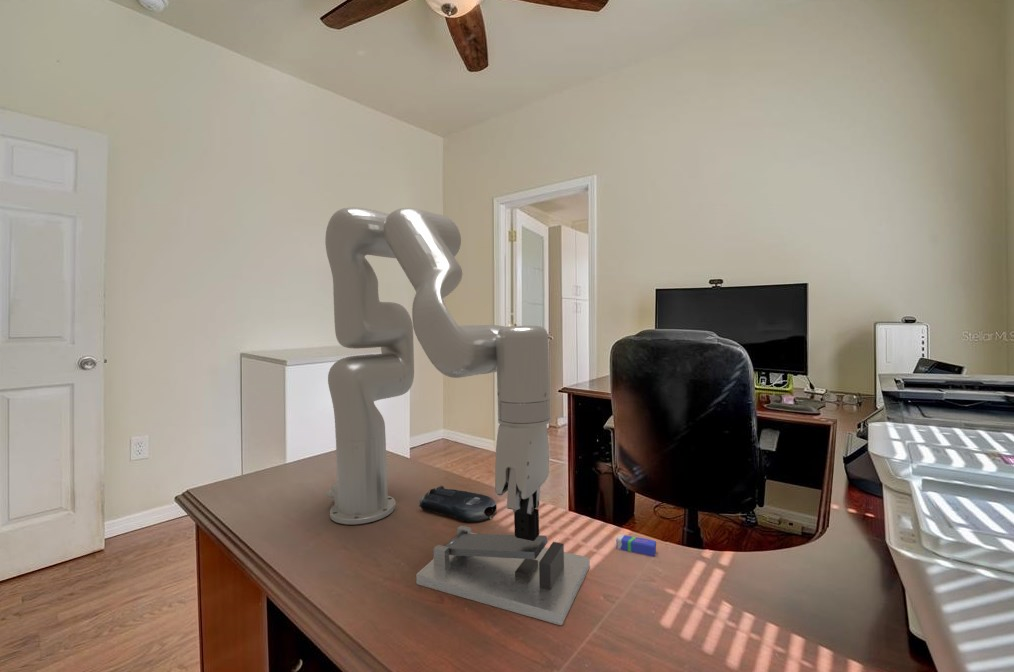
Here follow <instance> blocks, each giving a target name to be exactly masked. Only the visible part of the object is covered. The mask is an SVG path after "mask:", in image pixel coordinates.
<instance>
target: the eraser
mask: <svg viewBox="0 0 1014 672" xmlns="http://www.w3.org/2000/svg"><path fill="white" fill-rule="evenodd" d="M616 549H617V550H620V551H625V552H626V551H627V552H630V553H636V554H641V555H645V556H650V557H655V556H656V552H657V542H656V541H655V540H651V539H648V538H644V537H643V538H642V537H637V536H636V537H635V536H630V535H625V534H620V533H619V534H618V535H617V537H616Z"/></svg>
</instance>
